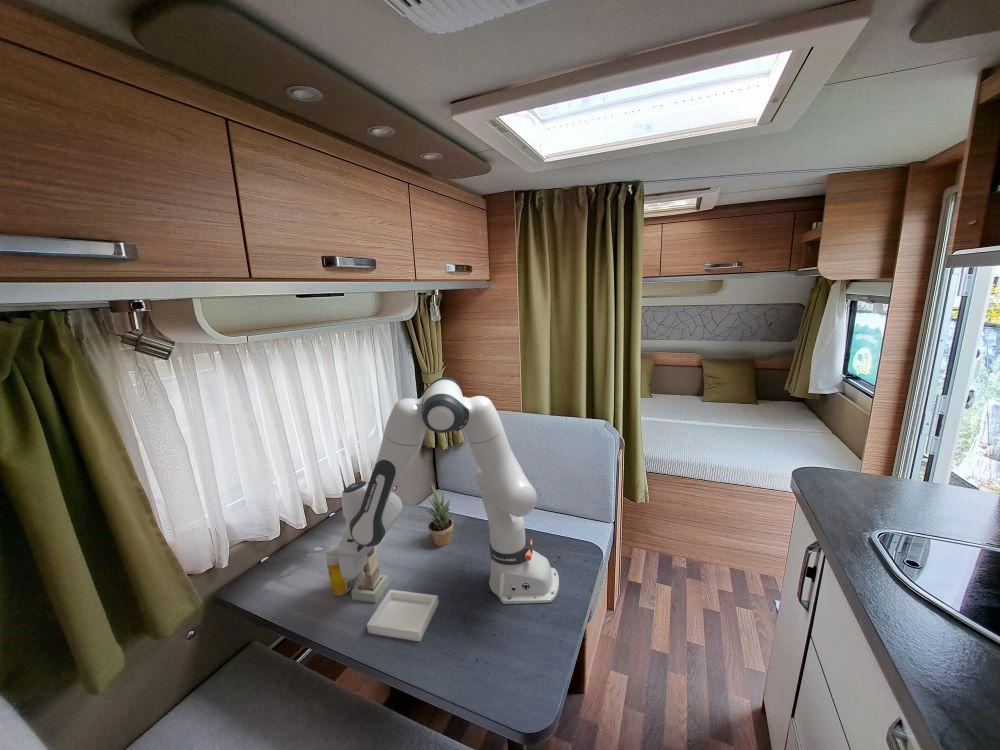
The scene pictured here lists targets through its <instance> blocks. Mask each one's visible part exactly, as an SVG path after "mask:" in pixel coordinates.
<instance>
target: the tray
mask: <svg viewBox="0 0 1000 750" xmlns="http://www.w3.org/2000/svg"><path fill="white" fill-rule="evenodd" d="M382 599H383V600H382V601H381V602H380V604H379V606H378V607H377V608H376V610H375V611H374V612H373V615H372V616H371V618H370V619H369V621H368V622H367V623H366V627H367V633H368V634H371V635H377V636H384V637H389V638H395V639H396V638H397V639H401V640H406V641H407V640H408V641H416V642H422V640H423V637H424V635H425V634H426V632H427V629H428V627H429V624H430V622H432V621H431V620H432V619H433V617H434V614H435V613H436V610H437V609H438V606H439V605H440V604H439V596H438V595H436V594H435V595H434V594H427V593H421V592H412V591H403V590H398V589H389V590H388V592H387V593H386V595H385V596H384V598H382Z"/></svg>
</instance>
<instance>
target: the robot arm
mask: <svg viewBox="0 0 1000 750" xmlns="http://www.w3.org/2000/svg"><path fill="white" fill-rule="evenodd" d="M419 396H420V398H412V397H406V398H401V399H399V400H397V402H395V404H394V406H393V408H392V410H391V412H390V414H389V417H388V419H387V421H386V425H385V428H384V432H383V437H382V439H381V444H380V446H379V450H378V451H379V452H378V454H377V455H378V456H377V458H376V460H375V463H374V468H373V470H372V474H371V475H370V479H369V481H365V480H360V481H356V482H354V483H351V484H349V485H348V486H347V487H345V489H343V490H342V493H341V507H342V508H341V510H342V515H343V518H344V519H345V532H344V534H343V536H342V538H341V540H340V542H339V543H338V544H339V545H338V547H337V553H339V554H340V556H339V566H340V572H341V576H342V577H343V578H345V579H351V580H354V579H355V578H356V577H357V576H358V577H359V576H360V578H362V579H364V578H365V577H366V576H367V571H364V570H363V569H364V566H365V565H366V563H367V558H368V556H367V553H368V552H369V551H370V550H371V549H372V548H373V546H374V549H376V554H377V556H378V554H379V548H381V546H382V545H384V543H385V542H386V540H387V536H388V532H389V531H390V529H391V528H392V527H393V526H394V524H395V522H396V521H397V520H398V518H399V517H400V516H401V514H403V510H404V504H403V503H404V502H403V500H402V499H401V496H399V494H397V493H396V492H394V491H392V490H393V488H394V486H395V485H396V483H397V482H398V480H399V479H400V478H401V477H402V476H403V474H404V473H405V472H406V471H407V470H408V469H409V467H410V466H412V464H414V463H413V462H415V460H416V458H417V457H418V455H419V452H420V450H421V448H422V445H423V441H424V438H425V434H426V431H427V429H428V430H430V431H431V432H434V433H438V434H446V433H451V432H457V431H461V430H463V432H464V434H465V438H466V439H467V443H468V446H469V448H470V451H471V454H472V456H473V459H474V461H475V464H476V465H477V468H476V470H475V472H474V479H475V482H476V485H477V486H478V490H479V493H480V496H481V498H482V504H483V507H484V510H485V513H486V516H487V517H486V518H487V522H488V528H489V529H488V530H489V537H490V538H489V539H490V542H489V557H490V560H491V565H490V567H491V568H490V576H489V579H488V584H489V588H490V590H491V591H492V592H493V593H494V594H495V595H496V596H497V597H498V599H499V600H500V602H501V603H502V604H504V605H508V604H510V605H511V604H512V605H513V604H514V605H516V604H517V605H518V604H544V603H545V604H546V603H547V604H548V603H551V602H553V601H554V600H555V599H556V597H557V595H558V593H559V589H560V577H559V573H558V571H557V569H556V568H554V567H552V566H551V565H550V562H549V560H548V558H547V557H545V556H544V555H542V554H540V553H539V552H538V551H535V550H534V549H533V539H530V542H529V541H528V540H527V538H526V531H525V530H526V529H525V527H526V526H525V518H524V517H526V516H528V515H529V514H530V513H531V512H532V511H533V510H534V508H535V506H536V504H537V500H538V499H537V498H538V496H537V491H536V489H535V488H534V486H533V485H532V484H531V482H530V481H529V479H528V477H527V476H526V473H524V471H523V469H522V468H523V467H521V464H520V463H519V462H518V459H517V458H516V456H515V454H514V452H513V450H512V448H511V446H510V443H509V440H508V437H507V433H506V431H505V428H504V425H503V422H502V420H501V417H500V415H499V412H498V411H497V409H496V407H495V405H494V404H493V402H492V400H491V399H489V397H487V396H484V395H476V396H471V397H467V396H464V392H463V388H462V386H461V385H460V384H459V383H458V381H456V380H455V379H453V378H451V377H445V376H444V377H439V378H437V379H435V380H434V381H433V382H431V383H430V384H429V385H428V386H427V387H426V388H425V389H424V390H423V391H422V392H421V393H420V395H419Z"/></svg>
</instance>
